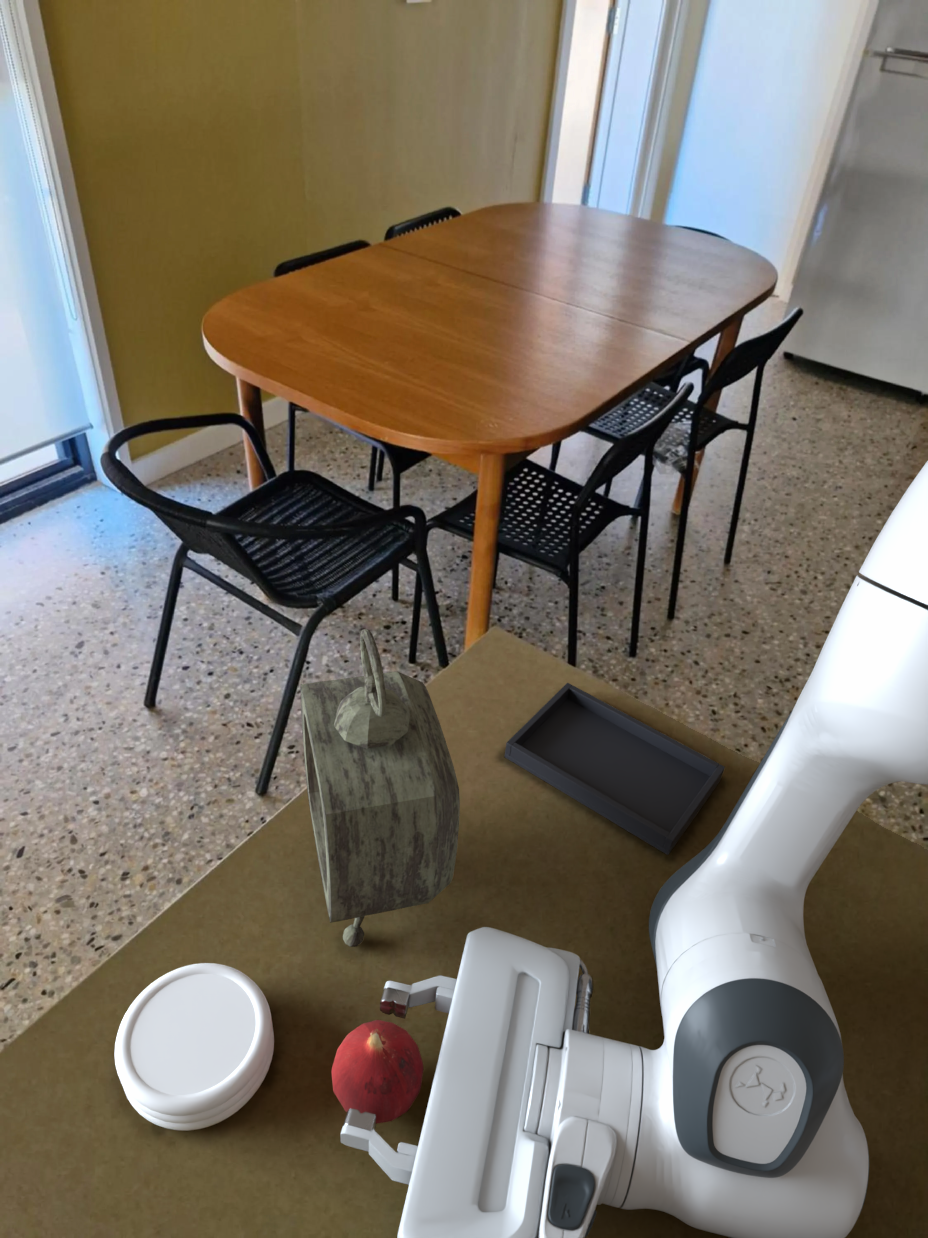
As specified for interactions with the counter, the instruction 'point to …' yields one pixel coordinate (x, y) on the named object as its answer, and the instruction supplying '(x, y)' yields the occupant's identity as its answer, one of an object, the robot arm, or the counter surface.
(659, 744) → the baking tray
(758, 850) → the robot arm
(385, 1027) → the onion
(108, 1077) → the counter surface
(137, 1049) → the white round flat cylinder
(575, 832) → the counter surface
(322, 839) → the tabletop clock
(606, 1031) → the counter surface
